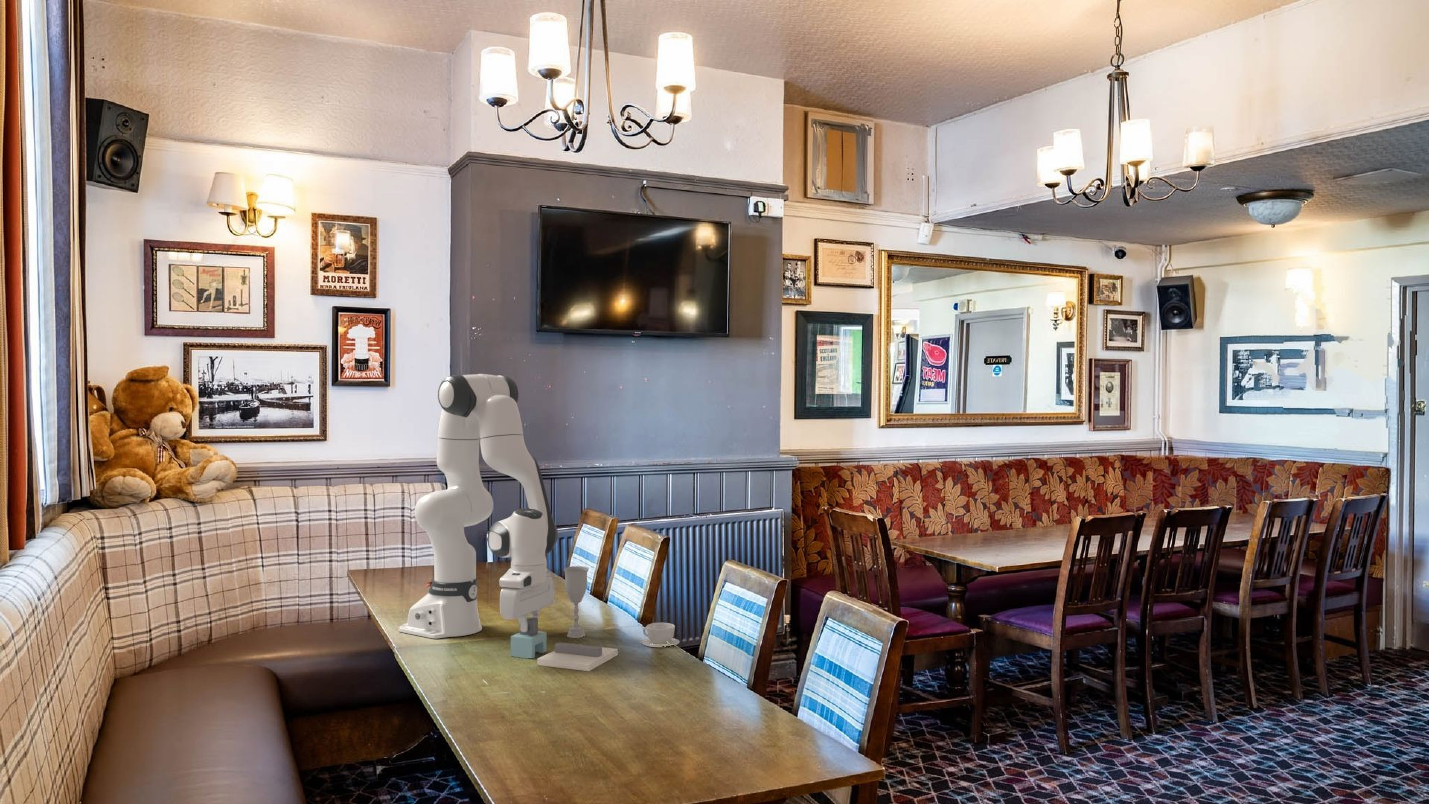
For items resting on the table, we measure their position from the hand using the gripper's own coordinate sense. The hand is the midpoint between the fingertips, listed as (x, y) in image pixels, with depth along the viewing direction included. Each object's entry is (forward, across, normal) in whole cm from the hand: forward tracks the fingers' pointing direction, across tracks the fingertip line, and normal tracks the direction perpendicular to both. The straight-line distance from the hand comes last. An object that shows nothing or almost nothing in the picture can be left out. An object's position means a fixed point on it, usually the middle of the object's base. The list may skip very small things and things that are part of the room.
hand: (528, 629), depth 244 cm
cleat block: (+6, 0, 0) cm, 6 cm away
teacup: (+6, -22, +26) cm, 35 cm away
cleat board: (+6, 0, +14) cm, 15 cm away
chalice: (+6, -20, +2) cm, 22 cm away
